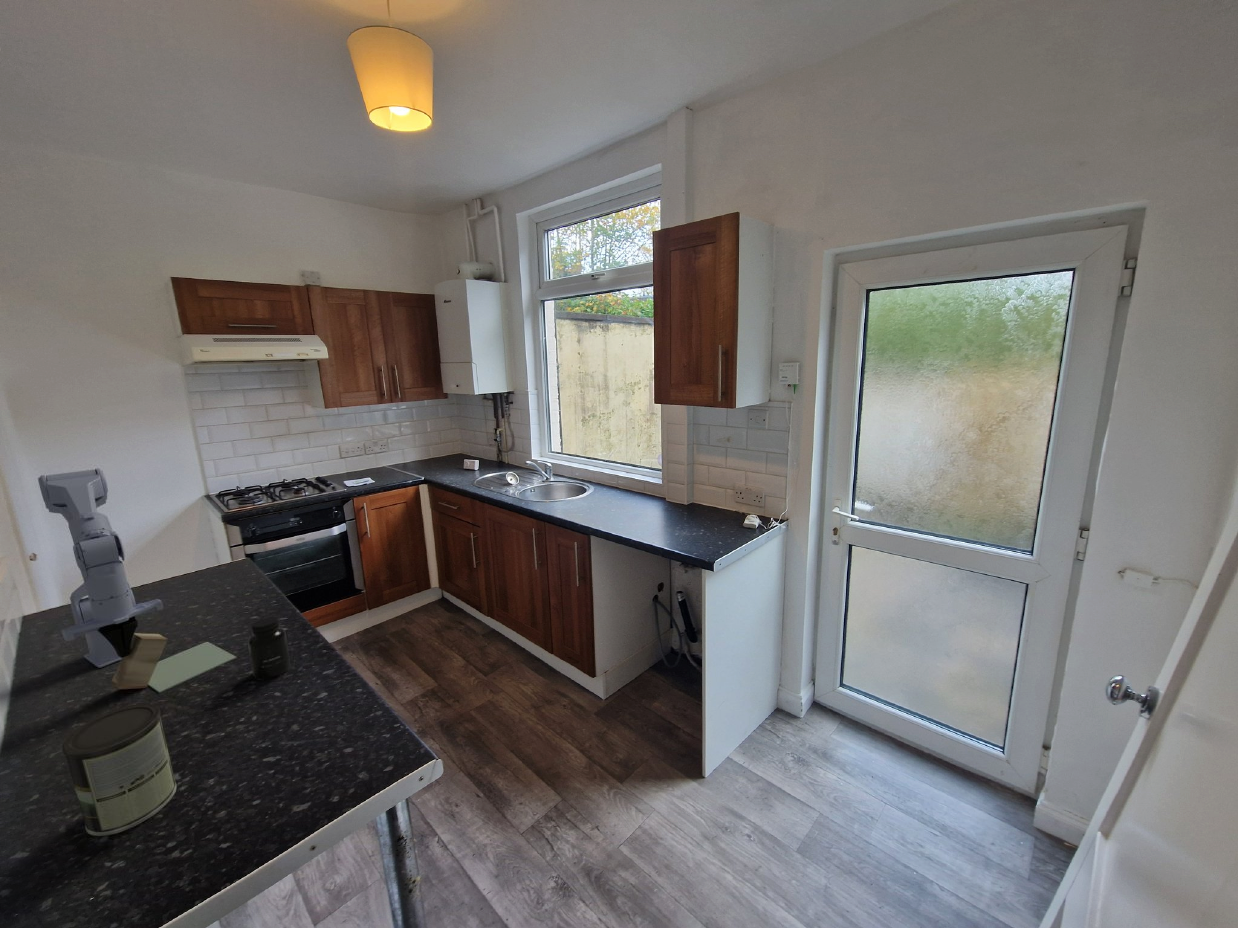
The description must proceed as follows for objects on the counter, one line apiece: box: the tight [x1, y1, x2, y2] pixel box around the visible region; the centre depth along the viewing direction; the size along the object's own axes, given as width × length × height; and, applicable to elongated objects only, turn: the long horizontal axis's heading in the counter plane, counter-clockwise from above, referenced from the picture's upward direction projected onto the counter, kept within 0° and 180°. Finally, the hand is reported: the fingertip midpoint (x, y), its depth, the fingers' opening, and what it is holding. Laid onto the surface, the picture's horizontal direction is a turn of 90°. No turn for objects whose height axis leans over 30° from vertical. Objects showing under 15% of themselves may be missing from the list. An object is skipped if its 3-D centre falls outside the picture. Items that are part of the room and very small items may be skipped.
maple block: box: [110, 632, 169, 690], centre depth 105 cm, size 4×4×10 cm
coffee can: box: [61, 703, 178, 837], centre depth 75 cm, size 10×10×14 cm
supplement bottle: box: [247, 616, 291, 681], centre depth 109 cm, size 7×7×12 cm
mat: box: [148, 641, 237, 694], centre depth 112 cm, size 14×14×1 cm
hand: (124, 655), depth 103 cm, fingers closed
